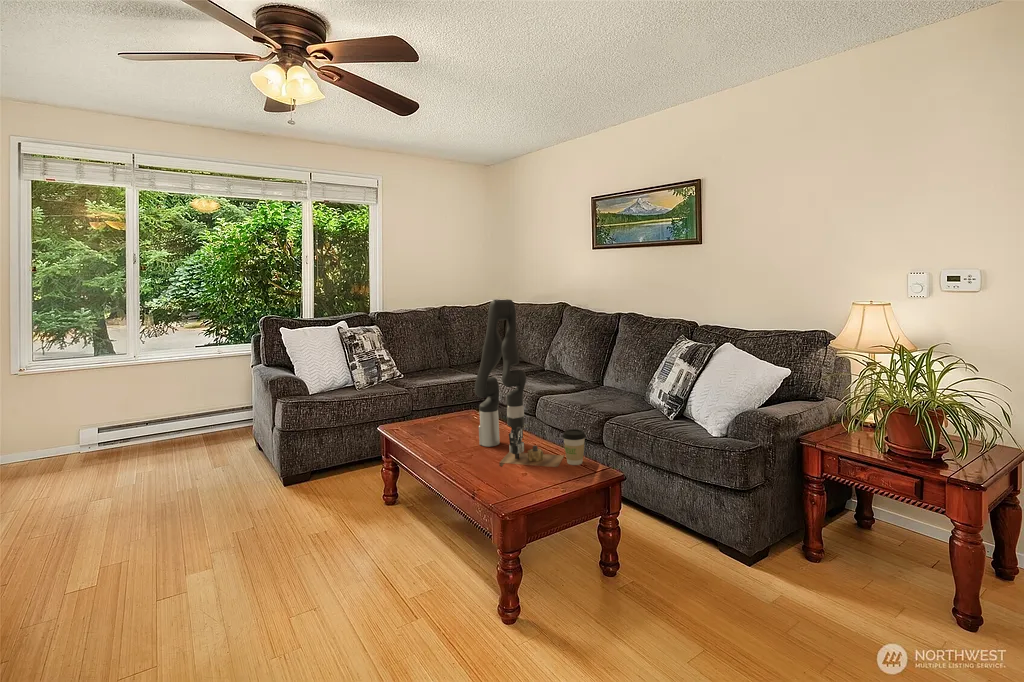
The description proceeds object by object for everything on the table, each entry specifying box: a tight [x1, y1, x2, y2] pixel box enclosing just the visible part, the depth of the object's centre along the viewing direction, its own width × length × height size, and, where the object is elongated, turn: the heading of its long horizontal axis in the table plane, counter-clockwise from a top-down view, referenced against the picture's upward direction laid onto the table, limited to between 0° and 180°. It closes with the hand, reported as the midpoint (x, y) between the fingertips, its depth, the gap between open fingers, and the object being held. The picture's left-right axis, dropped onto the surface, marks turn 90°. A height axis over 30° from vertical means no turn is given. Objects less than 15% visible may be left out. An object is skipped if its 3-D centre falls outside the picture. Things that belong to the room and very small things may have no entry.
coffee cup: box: [562, 428, 587, 466], centre depth 227 cm, size 10×10×15 cm
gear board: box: [499, 445, 565, 468], centre depth 233 cm, size 26×14×8 cm, turn 72°
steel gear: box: [508, 440, 525, 454], centre depth 235 cm, size 6×6×4 cm
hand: (516, 451), depth 235 cm, fingers closed on steel gear, 5 cm apart
